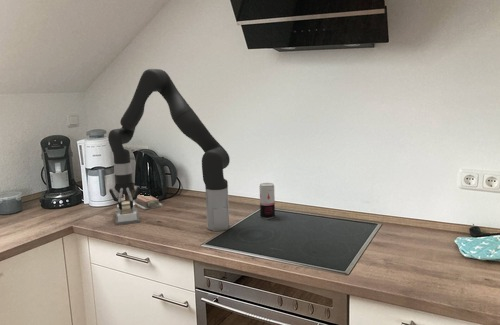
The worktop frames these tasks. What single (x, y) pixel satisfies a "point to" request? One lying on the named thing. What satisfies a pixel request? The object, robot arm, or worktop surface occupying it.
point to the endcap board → (127, 216)
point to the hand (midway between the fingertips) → (126, 208)
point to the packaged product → (147, 202)
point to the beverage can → (267, 200)
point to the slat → (126, 207)
